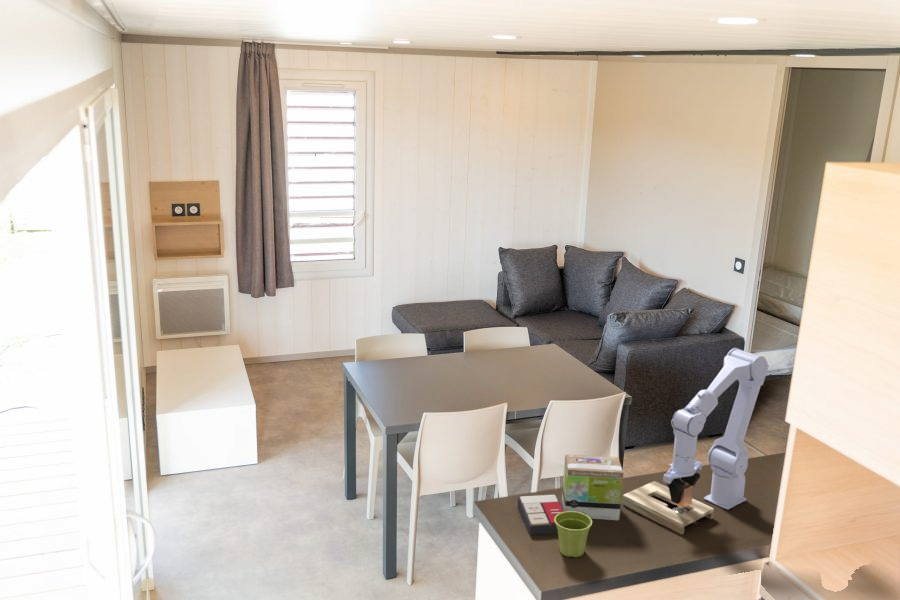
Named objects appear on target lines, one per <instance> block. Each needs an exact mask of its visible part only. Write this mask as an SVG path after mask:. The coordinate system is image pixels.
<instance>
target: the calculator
mask: <svg viewBox="0 0 900 600" xmlns="http://www.w3.org/2000/svg"><path fill="white" fill-rule="evenodd" d="M517 510H518V512H520V513H519V514H521V515H520V516H521V518H522V520H523V523H525V524H524V526H525V529H526V531H527V533H528V534H529V536H543V535H545V536H546V535H558V529H557V527H556V524H555V522H554V518H555V516H556V515H557V514H559V513H562V512H564V508H563V505H562V504H561V502H560V500H559V498H558V496H557V495H556V494H541V495H524V496H523V495H521V496H518V498H517Z"/></svg>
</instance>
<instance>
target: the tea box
mask: <svg viewBox="0 0 900 600" xmlns="http://www.w3.org/2000/svg"><path fill="white" fill-rule="evenodd" d="M563 466H564V467H563V481H562V491H561V492H562V495H561V503H562V508H563V510H564V512H566V511H575V512H580V513H583V514H585V515H587V516H589V517H590V518H591V520H593V519H594V520H606V521H607V520H608V521H617V522H618V521H620V516H621V508H622V507H621V506H622V497H623V484H624V483H623V482H624V471H623V468H622V464H621V462H620V459H619V457H617V456H601V455H600V456H599V455H583V454H582V455H581V454H580V455H579V454H565V456H564V465H563Z"/></svg>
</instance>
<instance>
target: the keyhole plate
mask: <svg viewBox="0 0 900 600" xmlns="http://www.w3.org/2000/svg"><path fill="white" fill-rule="evenodd" d="M652 496H654V497H655V498H654V497H652ZM656 497H657V498H659V499H661V500H663V501H661V500H658V499H656ZM664 501H665V502H667V503H670V504H672V505H674V506H675V504H673V503H671V496H670V491H669V488H668V486H666V485H664V484H661V483H659V482H658V481H655V480H653V481H650V482H649V483H646V484H644V485H642V486H640V487H637V488H635V489H633V490H631V491H629V492H626V493H624V494H622V497H621V506H624V505H625V506H624V507H626V506H627V507H626V508H628V507H629V508H628V509H630V508H631V509H630V510H632V509H633V510H632V511H634V510H635V511H634V512H636V513H638V514H640V515H642V516H644V517H646V518H648V519H650V520H652V521H654V522H656V523H658V524H660V525H662V526H664V527H666V528H668V529H670V530H672V531H673V532H676V533H677V534H680V535H683V534H684V533H685V527H687V526H688V525H690V524H692V523H694V522H696V521H698V520H700V519H702V518H704V517H705V518H707V519H709V520H712V519H713V518H714V510H715V508H714V507H711V506H710V505H707V504H705V503H704V502H702V501H699V500H697V499H695V498H692V504H690V505H688V506H686V507H684V509H687V510H688V512H686V513H684V514H680V513H678V512H676V511H674V510H672V509H673V508H672V509H671V507H670V508H669V507H668V506H669V505H668V504H667V503H665V502H664Z"/></svg>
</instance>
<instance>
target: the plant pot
mask: <svg viewBox="0 0 900 600" xmlns="http://www.w3.org/2000/svg"><path fill="white" fill-rule="evenodd" d="M554 522H555V524H556V527H557V529H558V534H557V535H558V545H559V546H558V547H559V552H560V553H561V554H562V555H563V556H565V557H573V558H578V557H582V556H583V555H584V553H585V549H586V544H587V540H588V534H589V531H590V528H591V526H592V525H593V519H591V518H590V517H589V516H587V515H585V514H583V513H580V512H575V511H566V512H562V513H559V514H557V515H556V516H555V518H554Z"/></svg>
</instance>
